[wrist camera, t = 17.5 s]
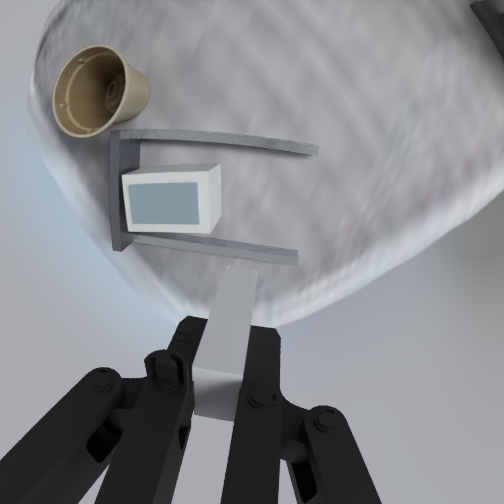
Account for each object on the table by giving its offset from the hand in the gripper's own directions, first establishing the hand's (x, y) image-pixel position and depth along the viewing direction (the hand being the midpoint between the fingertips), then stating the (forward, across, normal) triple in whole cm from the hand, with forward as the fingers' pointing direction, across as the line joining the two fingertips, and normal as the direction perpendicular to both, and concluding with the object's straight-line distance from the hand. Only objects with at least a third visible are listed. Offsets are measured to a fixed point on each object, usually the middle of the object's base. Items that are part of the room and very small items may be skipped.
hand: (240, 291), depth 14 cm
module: (+20, -9, 0) cm, 22 cm away
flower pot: (+20, -17, +11) cm, 28 cm away
